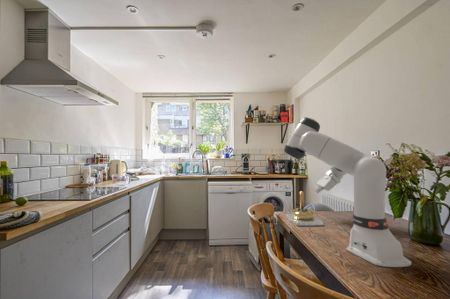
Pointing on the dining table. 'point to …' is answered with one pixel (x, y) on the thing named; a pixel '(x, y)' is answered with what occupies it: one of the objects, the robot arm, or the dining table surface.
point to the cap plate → (304, 221)
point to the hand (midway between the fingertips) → (316, 192)
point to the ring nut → (303, 210)
